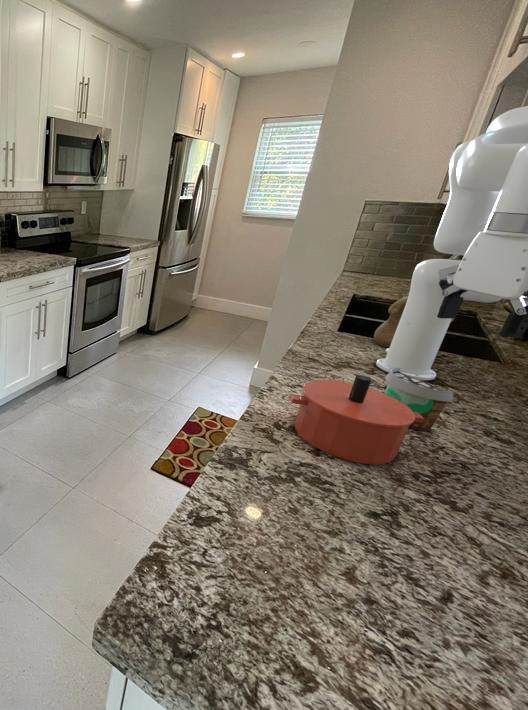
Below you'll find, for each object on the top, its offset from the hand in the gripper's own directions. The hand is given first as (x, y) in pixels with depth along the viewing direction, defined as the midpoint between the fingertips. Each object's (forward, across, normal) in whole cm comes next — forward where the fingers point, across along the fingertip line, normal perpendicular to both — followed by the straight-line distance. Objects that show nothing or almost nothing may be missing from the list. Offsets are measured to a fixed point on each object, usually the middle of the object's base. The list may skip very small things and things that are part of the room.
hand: (475, 326), depth 71 cm
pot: (+26, +5, +12) cm, 29 cm away
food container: (+26, +12, -7) cm, 30 cm away
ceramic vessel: (+26, +49, -51) cm, 76 cm away
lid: (+18, +5, +12) cm, 22 cm away
